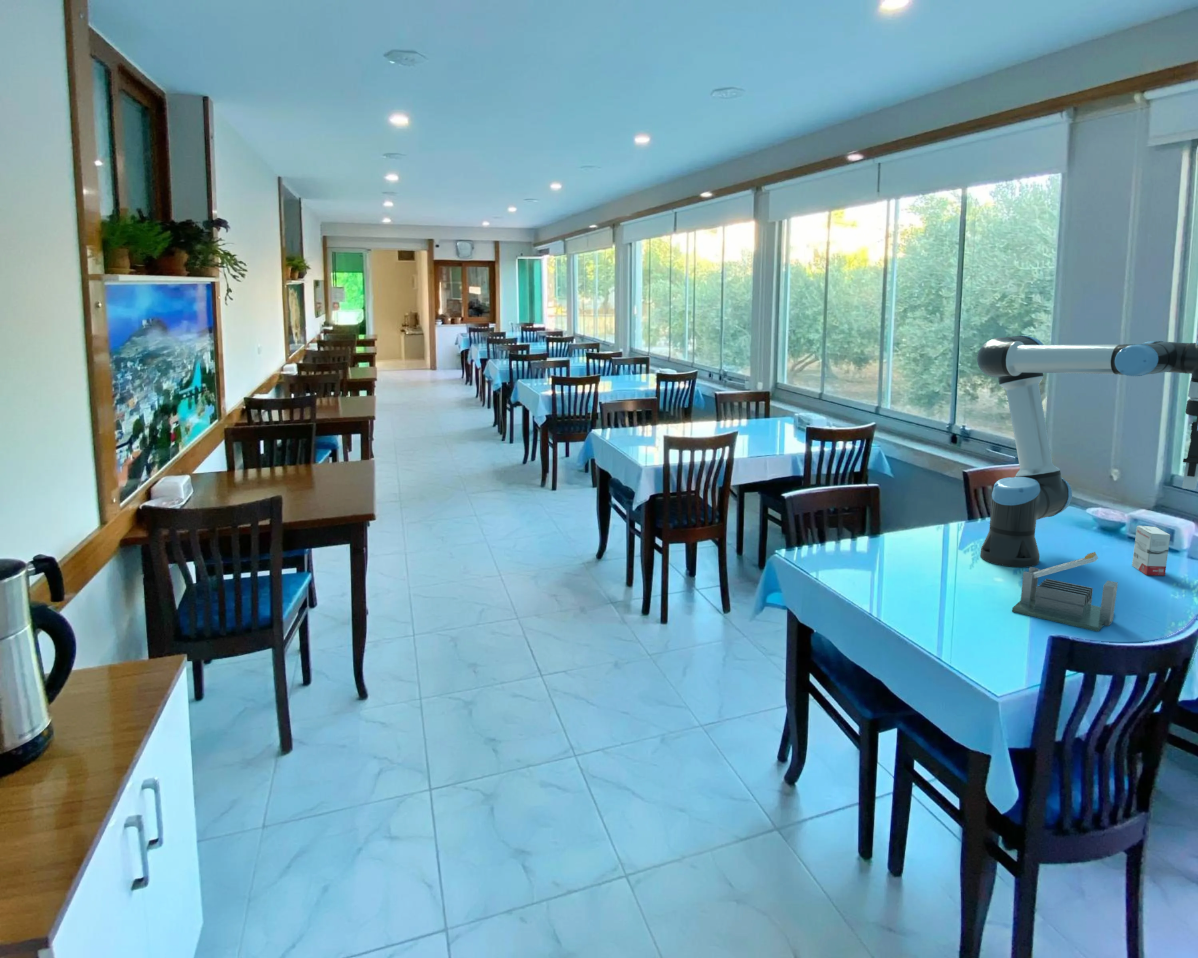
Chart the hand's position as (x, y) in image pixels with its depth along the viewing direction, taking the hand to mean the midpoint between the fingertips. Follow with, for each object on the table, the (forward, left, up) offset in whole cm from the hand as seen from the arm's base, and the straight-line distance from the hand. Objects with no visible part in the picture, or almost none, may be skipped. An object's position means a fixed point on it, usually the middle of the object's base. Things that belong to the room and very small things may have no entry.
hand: (1191, 483), depth 193 cm
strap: (-18, -38, -17) cm, 45 cm away
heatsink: (-17, -38, -28) cm, 50 cm away
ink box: (-8, +10, -28) cm, 30 cm away
